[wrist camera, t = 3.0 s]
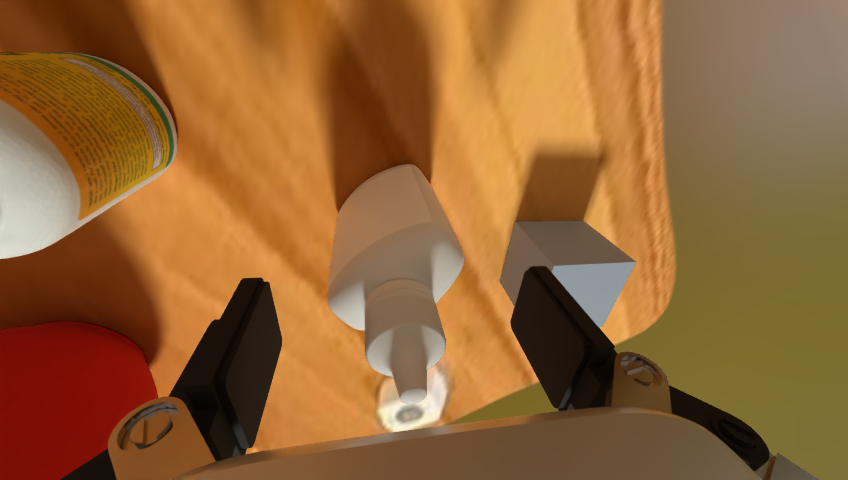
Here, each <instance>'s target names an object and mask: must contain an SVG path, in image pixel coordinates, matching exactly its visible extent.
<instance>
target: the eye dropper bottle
mask: <svg viewBox="0 0 848 480" xmlns="http://www.w3.org/2000/svg"><path fill="white" fill-rule="evenodd" d="M464 259H465V258H464V254H463V250H462V247H461V245H460V243H459V240H458V238H457V236H456V234H455V232H454V230H453V228H452V226H451V224H450V222H449V220H448V218H447V216H446V214H445V212H444V210H443V208H442V206H441V204H440V202H439V200H438V198H437V196H436V194H435V192H434V190H433V188H432V186H431V185H430V183H429V182H428V180H427V179H426V177H425V176H424V175H423V173H422V172H421V170H420V169H419V168H418V167H417V166H415V165H412V164H404V165H399V166H396V167H392V168H389V169H387V170H384V171H382V172H380V173H378V174H376V175H374V176H372V177H371V178H369V179H368V180H366V181H365V182H363V183H362V184H361V185H360V186H359V187H357V188H356V189H355V190H354V191H353V192H352V194H351V195H350V196H349V197H348V198H347V200H346V201H345V202H344V204H343V205H342V207H341V209H340V211H339V213H338V215H337V219H336V226H335V233H334V241H333V248H332V256H331V263H330V271H329V280H328V291H327V303H328V305H329V307H330V309H331V310H332V312H333V313H334V314H335V315H336V316H337V317H339V318H340V319H341V320H342V321H344V322H345V323H346V324H348V325H349V326H351V327H353V328H355V329H358V330H365V356H366V359H367V361H368V364H370V366H371V367H372V368H373V369H375V370H376V371H378V372H379V373H381V374H384V375H387V376H393V378H394V381H395V385H396V388H397V391H398V394H399V397H400V400H401V401H402V402H403V403H406V404H415V403H418V402H420V401H422V400H423V399H424V398H425V397H426V395H427V370H428V369H429V368H431V367H432V366H433V365H435V364H436V363H437V362H438V361H439V359H440V358H441V357H442V355H443V354H444V351H445V348H446V347H445V346H446V338H445V335H444V332H443V328H442V325H441V321H440V318H439V314H438V311H437V307H436V304H435V303H436V302H437V301H438V300H439V299H440V298H441V297H442V296H443V295H444V294H445V292H446V291H447V290H448V289H449V287H450V286H451V285H452V283H453V282H454V281H455V279H456V278H457V276H458V274H459V273H460V271H461V269H462V267H463V264H464Z"/></svg>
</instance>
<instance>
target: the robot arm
mask: <svg viewBox="0 0 848 480" xmlns="http://www.w3.org/2000/svg"><path fill="white" fill-rule="evenodd" d="M511 328H512V330H513V332H514V334H515V336H516V338H517V340H518V342H519V344H520V345H521V347H522V349H523V351H524V353H525V355H526V357H527V359H528V360H529V362H530V364H531V366H532V368H533V370H534V372H535V374H536V375H537V377H538V379H539V381H540V383H541V385H542V387H543V388H544V390H545V392H546V394H547V396H548V398H549V400H550V402H551V403H552V405H553V406H554V407H555V408H558V409H559V411H558V412H549V413H541V414H533V415H526V416H518V417H509V418H501V419H493V420H485V421H477V422H470V423H462V424H454V425H446V426H439V427H431V428H423V429H416V430H408V431H401V432H393V433H386V434H379V435H371V436H364V437H356V438H349V439H342V440H334V441H327V442H320V443H313V444H306V445H300V446H293V447H287V448H280V449H274V450H267V451H261V452H256V453H251V454H246V455H245V453H246V450H247V448H252V447H253V445H254V442H255V439H256V435H257V432H258V428H259V425H260V421H261V418H262V414H263V411H264V407H265V404H266V400H267V397H268V393H269V389H270V386H271V382H272V379H273V375H274V372H275V368H276V365H277V361H278V358H279V354H280V351H281V347H282V336H281V332H280V327H279V323H278V319H277V314H276V310H275V306H274V301H273V297H272V293H271V288H270V284H269V282H264V281H263V279H262V278H243V279H242V280H241V281H240V283H239V285H238V287H237V289H236V291H235V292H234V294H233V296H232V298H231V300H230V302H229V303H228V305H227V307H226V309H225V311H224V313H223V314H222V316H221V318H220V319H219V320H214V321H212V322H211V324H210V325H209V327H208V328H207V330H206V332H205V334H204V335H203V337H202V339H201V341H200V342H199V344H198V346H197V348H196V349H195V351H194V353H193V355H192V356H191V358H190V360H189V362H188V363H187V365H186V367H185V369H184V370H183V372H182V374H181V376H180V377H179V379H178V381H177V383H176V384H175V386H174V388H173V390H172V391H171V393H170V395H169V397H161V398H157V399H153V400H151V401H149V402H146V403H144V404H142V405H140V406H139V407H137V408H136V409H134V410H133V411H131V412H129V413H128V414H127V415H126V416H125V417H124V418H123V419H122V420H121V421H120V422H119V423H118V424H117V426H116V427H115V428H114V430H113V431H112V433H111V435H110V438H109V440H108V448H107V449H106V450H104V451H103V452H101V453H100V454H98V455H97V456H95V457H94V458H92V459H91V460H89V461H88V462H86V463H84V464H83V465H81V466H80V467H78V468H77V469H75V470H74V471H72V472H71V473H69V474H68V475H66V476H65V477H63V478H61V479H60V480H819V479H817V478H816V477H814V476H813V475H811V474H810V473H808V472H807V471H805V470H804V469H802V468H800V467H799V466H797V465H796V464H794V463H793V462H791V461H790V460H788V459H787V458H785V457H784V456H782V455H780V454H779V453H777V454H775V455H772V454H771V453H770V452H769V450H768V448H767V445H766V444H765V442H764V441H763V440H762V438H761V437H760V436H759V435H758V434H757V433H756V432H755V431H754V430H753V429H752V428H751V427H750V426H748V425H747V424H745V423H744V422H743V421H742V420H740V419H738V418H736V417H734V416H733V415H731V414H729V413H727V412H724V411H722V410H720V409H718V408H716V407H714V406H712V405H709V404H708V403H705V402H703V401H701V400H699V399H697V398H695V397H693V396H691V395H689V394H686V393H684V392H682V391H680V390H678V389H676V388H674V387H672V386H669V382H668V379H667V376H666V374H665V373H664V372H663V370H662V369H661V368H660V367H659V366H658V365H657V364H656V363H654V362H653V361H651V360H650V359H649V358H647V357H645V356H643V355H640V354H637V353H634V352H620V353H619V354H617V353H616V351H615V350H614V347H615V346H614V345H613V344H612V342H611V341H610V340H609V339H608V338H607V337H606V335H605V334H604V333H603V332H602V331H601V329H600V328H599V327H598V326H597V325H596V324H595V322H594V321H593V320H592V319H591V318H590V317H589V315H588V314H587V313H586V312H585V311H584V310H583V308H582V307H581V306H580V305H579V304H578V303H577V301H576V300H575V299H574V298H573V297H572V296H571V294H570V293H569V292H568V291H567V290H566V288H565V287H564V286H563V285H562V284H561V283H560V281H559V280H558V279H557V278H556V277H555V276H554V274H553V273H552V272H551V271H550V270H549V269H548V268H547V267H546V266H531V267H529V269H528V270H526V271H525V272H524V275H523V279H522V283H521V286H520V290H519V293H518V297H517V300H516V304H515V307H514V311H513V314H512V318H511Z"/></svg>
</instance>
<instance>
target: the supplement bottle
mask: <svg viewBox="0 0 848 480" xmlns="http://www.w3.org/2000/svg"><path fill="white" fill-rule="evenodd" d="M176 154H177V133H176V128H175V124H174V121H173V119H172V116H171V114H170V112H169V110H168V108H167V107H166V106H165V104H164V103H163V101H162V100H161V99H160V97H159V96H158V95H157V94H156V93H155V92H154V91H153V90H152V89H151V88H150V87H149V86H148V85H147V84H146V83H145V82H144V81H142V80H141V79H140V78H139V77H137V76H136V75H135V74H133V73H132V72H130V71H129V70H127V69H125V68H124V67H122V66H119V65H117V64H115V63H112V62H110V61H108V60H105V59H102V58H99V57H95V56H91V55H87V54H81V53H71V52H30V53H0V259H4V258H12V257H17V256H22V255H26V254H30V253H33V252H36V251H39V250H41V249H44V248H46V247H48V246H50V245H52V244H54V243H55V242H57V241H59V240H60V239H62V238H63V237H65V236H67V235H68V234H70V233H72V232H73V231H75V230H76V229H78V228H79V227H81V226H83V225H84V224H86V223H87V222H89V221H90V220H92V219H93V218H95V217H96V216H98V215H99V214H101V213H103V212H104V211H106V210H107V209H109V208H110V207H112V206H113V205H115V204H116V203H118V202H119V201H121V200H123V199H124V198H126V197H127V196H129V195H131V194H132V193H134V192H135V191H137V190H138V189H140V188H142V187H143V186H145V185H146V184H148V183H149V182H151V181H153V180H154V179H156V178H157V177H158V176H160V175H161V174H162V173H164V172H165V171H166V170H167V169H168V168H169V167H170V166H171V164H172V162H173V161H174V159H175V156H176Z"/></svg>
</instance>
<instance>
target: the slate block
mask: <svg viewBox="0 0 848 480" xmlns="http://www.w3.org/2000/svg"><path fill="white" fill-rule="evenodd" d="M635 263H636V261H634V260H633V259H632V258H630V257H629V256H628V255H627V254H625V253H624V252H623V251H621V250H620V249H619V248H618V247H616V246H615V245H614V244H613V243H611V242H610V241H609V240H607V239H606V238H605V237H604V236H602V235H601V234H600V233H598V232H597V231H596V230H595V229H593V228H592V227H591V226H590V225H588V224H587V223H586V222H584V221H583V220H575V221H519V222H515V223H514V227H513V231H512V235H511V239H510V243H509V247H508V251H507V255H506V259H505V263H504V267H503V271H502V275H501V279H500V283H501V284H502V286H503V288H504V289H505V291H506V293H507V295H508V296H509V298H510V300H511V301H512V303H513V305H514V306H515V304H516V300H517V297H518V293H519V290H520V286H521V283H522V279H523V275H524V272H525V271H526V270H528V269H529V267H531V266H546V267H547V268H548V269H549V270H550V271H551V272H552V273H553V274H554V276H555V277H556V278H557V279H558V280H559V281H560V283H561V284H562V285H563V286H564V287H565V288H566V290H567V291H568V292H569V293H570V294H571V296H572V297H573V298H574V299H575V300H576V301H577V303H578V304H579V305H580V306H581V307H582V308H583V310H584V311H585V312H586V313H587V314H588V315H589V317H590V318H591V319H592V320H593V321H594V322H595V324H596V325H597V326H598V327H602V326H603V325H604V323H605V321H606V319H607V318H608V316H609V314H610V312H611V310H612V308H613V306H614V304H615V302H616V300H617V298H618V296H619V294H620V292H621V290H622V288H623V286H624V285H625V283H626V281H627V279H628V277H629V275H630V273H631V271H632V269H633V267H634V265H635Z"/></svg>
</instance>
